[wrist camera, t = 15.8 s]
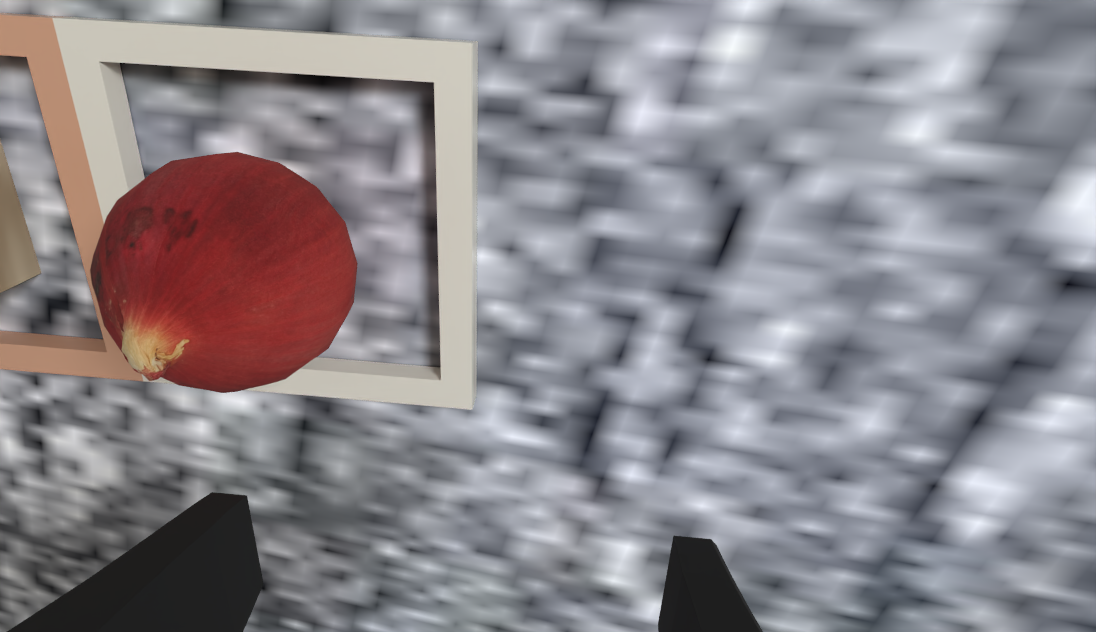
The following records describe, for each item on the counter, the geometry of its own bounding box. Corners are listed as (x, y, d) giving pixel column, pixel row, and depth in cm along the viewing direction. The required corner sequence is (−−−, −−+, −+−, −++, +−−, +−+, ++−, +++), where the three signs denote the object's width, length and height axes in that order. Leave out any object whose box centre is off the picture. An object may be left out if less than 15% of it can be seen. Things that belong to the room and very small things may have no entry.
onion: (177, 250, 21) (-51, 383, 13) (241, 87, 18) (7, 143, 11) (343, 344, 22) (213, 515, 14) (424, 201, 19) (318, 320, 12)
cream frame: (476, 396, 22) (471, 409, 21) (158, 369, 23) (143, 381, 22) (477, 41, 17) (472, 42, 17) (74, 17, 18) (52, 17, 17)
